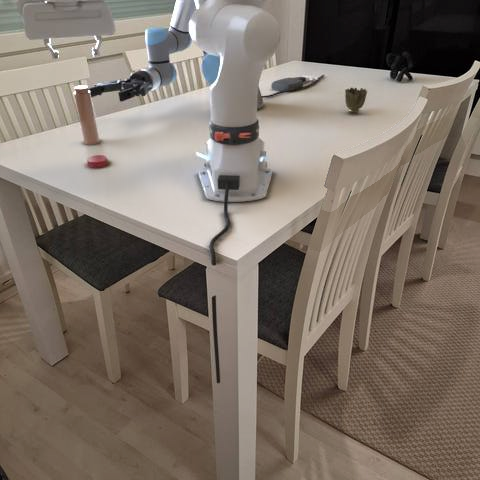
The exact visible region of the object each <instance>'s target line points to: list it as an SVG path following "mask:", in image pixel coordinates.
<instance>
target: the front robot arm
mask: <svg viewBox="0 0 480 480" xmlns="http://www.w3.org/2000/svg"><path fill="white" fill-rule="evenodd" d="M271 1H272V0H207V1H206V2H205V3H204V4H203V5H202V6H200V7H199V8H196V10H195V11H194V13H193V14H192V16H191V19H190V22H189V32H190V36H191V40H192V43H194V45H196V46H197V47H198V48H199V49H200V50H201V51H202V52H203V51H205V52H206V53H208V54H210V55H214V56H218V57H220V69H219V73H218V77H217V79H216V81H214V82H213V84H212V85H211V84H210V87H209V102H210V103H209V105H210V106H209V107H210V120H209V126H208V129H209V139H208V140H207V141H206V142H205V143H204V144H205V145H204V148H205V149H204V150H205V152H204V153H205V155H204V154H203V153H200V152H198V151H196V152H195V153H196V154H195V155H196V156H197V157H200V158H202V159H204V160H205V162H204V164H203V165H204V168H203V169H201V170H199V171H198V178H199V181H200V185H201V187H202V190H203V193H204V196H205V199H206V200H210V201H214V202H222V203H223V217H224V220H225V226H224V228H222V230H221V231H220V232H218V233H217V234H215V236H214V237H212V238H211V240H210V241H209V246H208V247H209V251H210V256H211V265H212V266H216V265H217V256H216V250H215V247H214V246H215V243H216V242H217V240H218V239H220V238H221V237H223V235H224V234H226V233H227V232H228V230H229V228H230V226H231V225H230V224H231V221H230V218H229V214H228V213H229V211H228V209H229V207H228V203H240V202H253V201H257V200H261V199H264V198H266V196H267V193H268V190H269V187H270V186H269V185H270V183H271V180H272V177H273V170H272V169H271V168H269V167H268V161H266V160H265V158H267V151H266V150H265V141H263V140H262V138H260V121H259V118H258V110H257V95H258V85H260V80H261V77H262V73H263V71H264V69H265V67H266V64H267V62H268V61H269V60H271V58H272V57H273V56H274V55H275V54H276V52H277V50H278V48H279V44H280V40H281V29H280V25H279V22H278V20H277V18H275V16H274V15H273V14H272V13H270V12H268V11H266V10H264V9H263V8H264V7H265V6H266V5H267V4H269V3H271ZM16 7H17V11H18V13H19V14H20V16H21V17H22V24H23V29H24V34H25V37H26V38H27V39H29V40H30V41H35V40H39V41H40V40H43V44H44V46H45V47H46V48H47V50H48V51H49V52H50V53H51V57H52V60H60V55H59V50H54V48H53V47H52V45H51V43H52V41H51V39H52V40H53V39H69V38H84V37H85V38H87V37H94V38H95V41H96V45H95V47H92V49H91V50H92V55H93V57H100V56H101V53H100V47H101V46H102V43H103V37H102V36H113V35H114V34H115V33H116V31H117V28H116V24H115V20H114V16H113V13H112V12H113V11H112V10H111V7H110V5H109V4H108V3H107V2H106V1H104V0H16ZM211 311H212V312H211V315H212V316H211V317H212V335H213V349H214V350H213V351H214V361H215V362H214V363H215V379H216V384H220V383H221V371H220V369H221V368H220V367H221V366H220V356H219V355H220V354H219V352H220V351H219V339H218V320H217V295H216V294H215V295H212V296H211Z"/></svg>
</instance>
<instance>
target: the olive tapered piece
mask: <svg viewBox="0 0 480 480" xmlns="http://www.w3.org/2000/svg"><path fill="white" fill-rule="evenodd" d="M367 94H368V90H367V88H363V87H361V88H360V89H358V88H357V87H355V88H354V87H350V88H346V89H345V90H344V95H345V96H344V97H345V99H344V100H345V101H344V102H345V105H346V108H347V109H348V113H349V114H352V115H356V114H359V113H360V109H362V107H364V105H365V102H366V99H367V98H366V97H367Z"/></svg>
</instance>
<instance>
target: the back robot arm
mask: <svg viewBox="0 0 480 480" xmlns="http://www.w3.org/2000/svg"><path fill="white" fill-rule="evenodd" d="M206 1H207V0H175V4H174V8H173V12H172V16H171V19H170V24H169V27H168V30H167V29H166V28H165V27H162V26H161V27H149V28H146V29H145V31H144V34H145V46H146V53H147V59H148V67H145V68H142V69H140V70H137V71H134V72H132V73H131V74H130V75H129V78H126V79H121V78H119V79H116V80H110V81H105V82H99V83H94V85H93V86H92V87H88V91H90V93H91V98H92V99H93V98H94V97H97V96H102V95H103V94H104V93H111V92H117V93H118V98H119V102H120V103H121V102H125V101H127V100H130V99H133V98H135V97H140V95H141V97H146V95H147V94H148V93H149V92H150V93H153V91H154V90H157V89H160V88H163V87H166V86H168V85H171V84H173V83H174V82H175V80H176V79H177V76H178V75H177V74H178V72H177V69H176V67H175V64H173V63H171V61H170V55H172V54H175V53H178V52H183V51H185V50H187V49H189V48H190V47H191V45H192V43H193V41H192V39H191V36H190V32H189V22H190V19H191V16H192V14H193V13H194V11H195V10H196V9H197V8H199V7H200V6H202V5H203V4H204V3H205V2H206ZM202 53H203V59H202V61H201V65H200V66H201V73H202V76H203V78H204V80H205V81H206V83H208V84H209V85H210V86H211V85H212V84H213V82H214V81H216V79H217V77H218V73H219V69H220V57H218V56H214V55H210V54H208V53H206V52H205V51H203V50H202ZM324 77H325V74H322V75H320V76H318V77H317V78H318V80H313V82H311V83H309V84H306V85H303V86H302V87H300V88H296V89H293V90H290V91H288V90H285V91H277V92H274V93H271V94H268V95H262V93H261V90H260V86H259V85H260V84H259V85H258V95H257V111H258V110H260V109H262V108H264V100H263V99H265V98H266V99H268V98H272V97H274V96H276V95H280V94H283V93H290V92H295V91H299V90H300V91H301V90H304V89H307V88H308V87H311V86H313V85H315V84H316V83H317V82H318V81H320V80H321V79H322V78H324Z"/></svg>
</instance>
